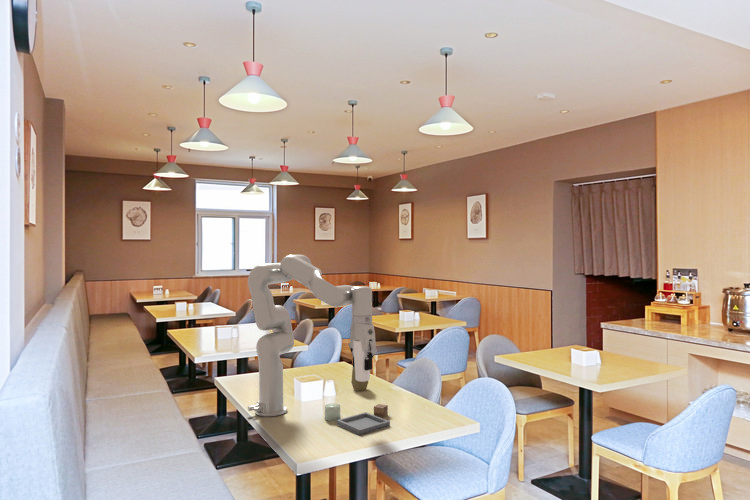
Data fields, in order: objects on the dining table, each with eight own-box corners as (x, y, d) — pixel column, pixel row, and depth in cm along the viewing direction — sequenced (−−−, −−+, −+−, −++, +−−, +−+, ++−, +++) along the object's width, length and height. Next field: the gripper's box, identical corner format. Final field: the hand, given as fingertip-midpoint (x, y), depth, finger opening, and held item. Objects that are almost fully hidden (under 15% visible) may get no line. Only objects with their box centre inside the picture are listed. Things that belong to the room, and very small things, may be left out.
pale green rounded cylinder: (330, 422, 190) (330, 409, 190) (321, 418, 195) (321, 405, 195) (343, 418, 194) (343, 406, 194) (334, 415, 198) (334, 402, 198)
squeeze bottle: (371, 388, 236) (371, 350, 236) (362, 393, 229) (361, 353, 229) (357, 386, 240) (357, 348, 240) (347, 390, 233) (347, 351, 233)
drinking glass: (369, 383, 182) (369, 341, 182) (351, 382, 184) (351, 341, 184) (373, 378, 189) (373, 338, 189) (355, 377, 190) (355, 338, 190)
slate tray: (359, 435, 176) (359, 430, 176) (336, 424, 187) (336, 420, 187) (389, 426, 185) (389, 421, 185) (366, 416, 196) (366, 412, 196)
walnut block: (382, 418, 194) (382, 408, 194) (373, 416, 196) (373, 406, 196) (387, 415, 198) (387, 405, 198) (378, 414, 200) (378, 403, 200)
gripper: (384, 321, 182) (385, 370, 182) (355, 316, 195) (356, 362, 195) (368, 323, 177) (369, 374, 177) (340, 318, 191) (340, 365, 190)
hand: (362, 367), depth 186 cm, fingers closed on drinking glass, 6 cm apart
